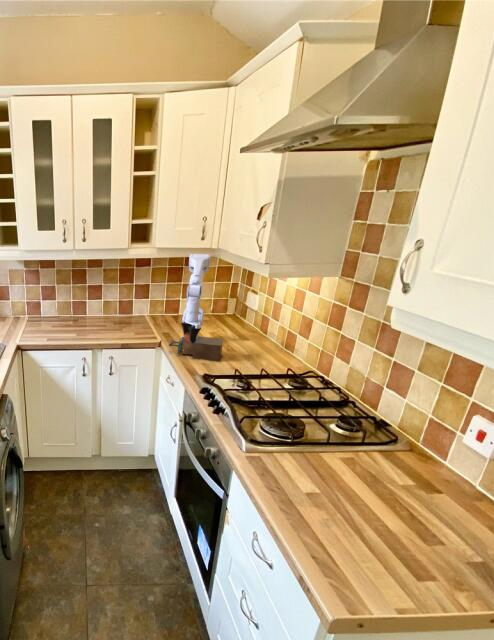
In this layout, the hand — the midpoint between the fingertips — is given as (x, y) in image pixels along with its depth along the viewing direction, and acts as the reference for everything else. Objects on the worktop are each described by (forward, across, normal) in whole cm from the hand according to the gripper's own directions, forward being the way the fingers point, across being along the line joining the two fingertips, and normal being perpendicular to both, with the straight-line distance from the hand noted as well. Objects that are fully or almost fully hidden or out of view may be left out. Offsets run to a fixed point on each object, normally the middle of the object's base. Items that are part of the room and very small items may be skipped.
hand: (189, 339), depth 194 cm
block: (+1, 0, 0) cm, 1 cm away
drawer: (+6, +1, +1) cm, 6 cm away
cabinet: (+7, -5, -7) cm, 11 cm away
